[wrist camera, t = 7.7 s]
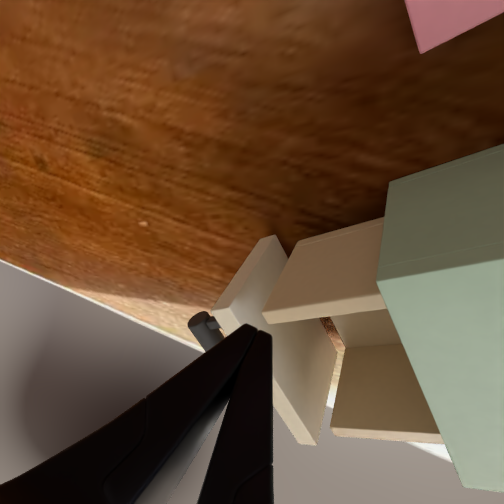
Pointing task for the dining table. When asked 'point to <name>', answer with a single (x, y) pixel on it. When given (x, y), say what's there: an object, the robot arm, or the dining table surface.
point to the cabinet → (452, 302)
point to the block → (447, 18)
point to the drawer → (326, 336)
